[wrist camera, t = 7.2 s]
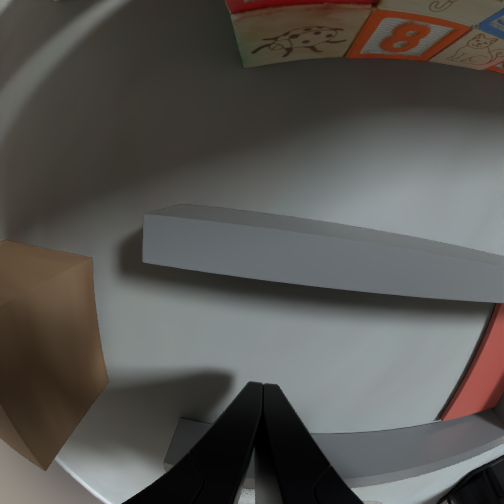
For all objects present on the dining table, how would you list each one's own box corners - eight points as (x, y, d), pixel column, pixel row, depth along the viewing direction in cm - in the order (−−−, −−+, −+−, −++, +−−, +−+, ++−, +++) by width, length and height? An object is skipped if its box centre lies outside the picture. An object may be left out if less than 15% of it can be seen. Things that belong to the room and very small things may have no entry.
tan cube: (109, 380, 10) (45, 471, 4) (26, 345, 10) (-39, 400, 5) (93, 256, 8) (-33, 325, 3) (6, 239, 8) (-86, 275, 3)
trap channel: (491, 416, 9) (508, 440, 7) (181, 431, 10) (166, 473, 8) (558, 271, 7) (587, 285, 5) (182, 203, 8) (143, 213, 5)
